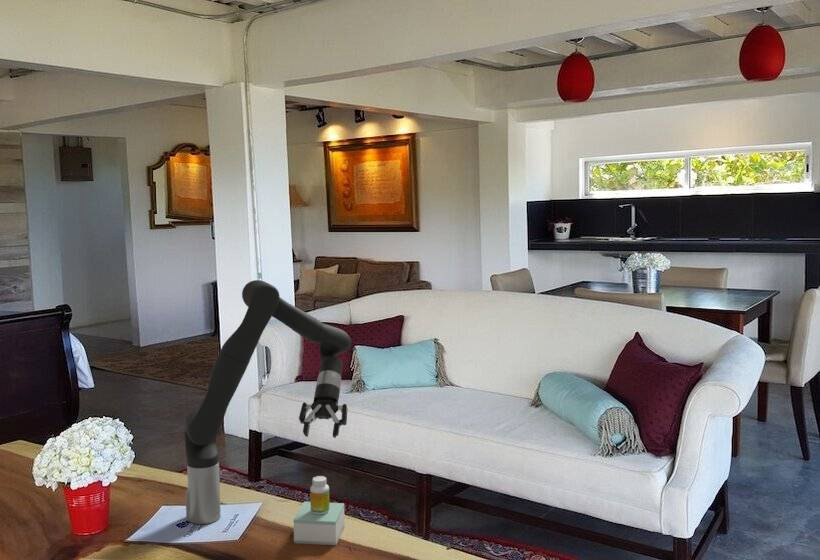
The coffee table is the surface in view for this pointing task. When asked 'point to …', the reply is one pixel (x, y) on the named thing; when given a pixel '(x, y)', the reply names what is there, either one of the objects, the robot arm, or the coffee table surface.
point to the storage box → (319, 532)
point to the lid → (327, 518)
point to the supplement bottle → (319, 495)
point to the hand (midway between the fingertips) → (320, 436)
